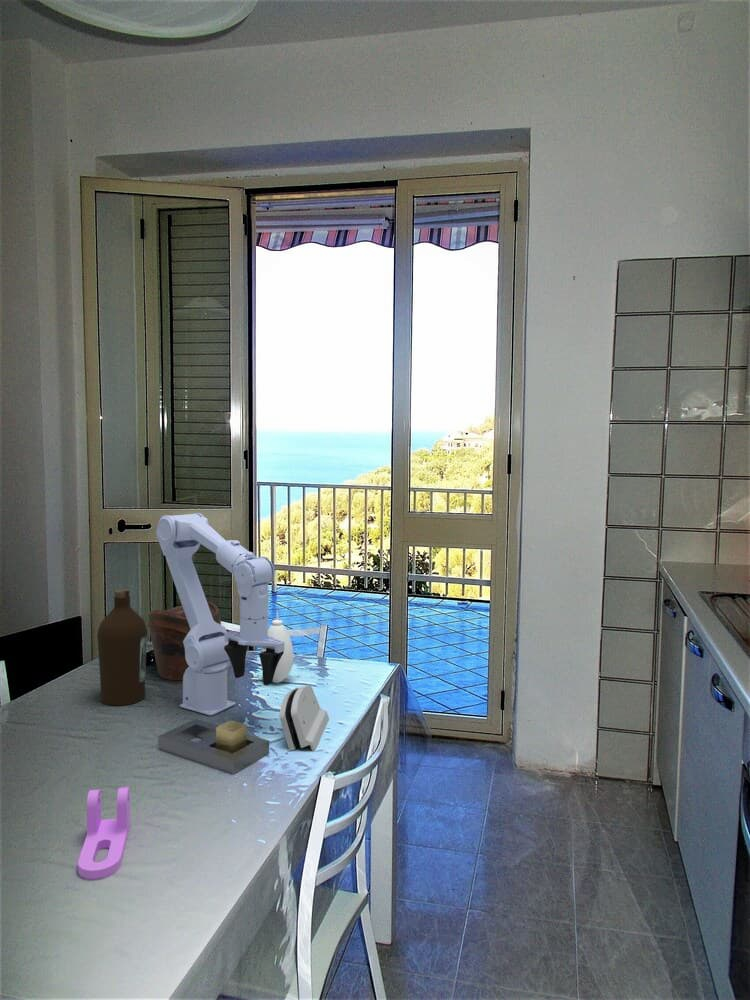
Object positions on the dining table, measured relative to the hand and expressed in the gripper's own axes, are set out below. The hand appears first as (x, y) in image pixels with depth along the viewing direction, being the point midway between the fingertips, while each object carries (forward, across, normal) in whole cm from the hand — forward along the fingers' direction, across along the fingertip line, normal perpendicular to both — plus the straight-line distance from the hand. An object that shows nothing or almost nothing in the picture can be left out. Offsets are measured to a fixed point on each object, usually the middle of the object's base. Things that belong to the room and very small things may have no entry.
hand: (253, 680), depth 146 cm
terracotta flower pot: (+10, -36, +16) cm, 41 cm away
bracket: (+10, +12, -47) cm, 49 cm away
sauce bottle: (+10, -12, +23) cm, 28 cm away
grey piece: (+10, +12, +2) cm, 15 cm away
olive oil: (+10, -34, -5) cm, 36 cm away
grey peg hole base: (+9, +2, -14) cm, 17 cm away
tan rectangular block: (+10, +6, -14) cm, 18 cm away
